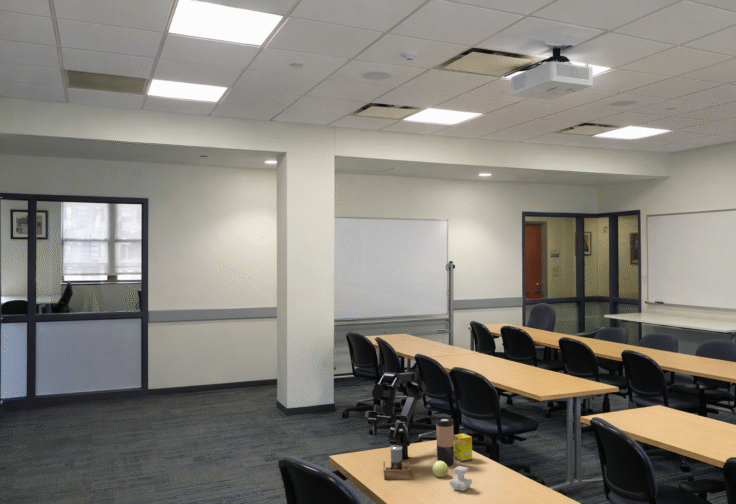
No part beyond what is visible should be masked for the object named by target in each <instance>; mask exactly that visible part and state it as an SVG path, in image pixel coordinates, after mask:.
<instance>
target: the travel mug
mask: <svg viewBox="0 0 736 504" xmlns="http://www.w3.org/2000/svg"><path fill="white" fill-rule="evenodd" d="M435 423H436V425H435V426H436V428H435V429H436V455H437V456H436V457H437V461H443V462H445V463H446V464H447V466H448V468H449V467H453V466H454V465H455V458H454V435H455V433H454V418H452V417H450V416H440V417H437V418H436V422H435Z"/></svg>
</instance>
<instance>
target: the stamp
mask: <svg viewBox="0 0 736 504" xmlns="http://www.w3.org/2000/svg"><path fill="white" fill-rule="evenodd" d="M468 470H469V467H465V466H461V465H458V466H456V467H455V468H454V470H453V471H454V474H455V475H457V476H456V477H454V478H452V479H451V480H450V482H449V485H450V486H451V487H452V488H453V490H456V491H460V492H465V491H467V490H468V489H469V487H470V486H471V485H472V483H473V480H472V478H468V477H464V476H465V475H466V474H467V473H468Z"/></svg>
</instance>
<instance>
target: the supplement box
mask: <svg viewBox="0 0 736 504" xmlns="http://www.w3.org/2000/svg"><path fill="white" fill-rule="evenodd" d="M454 460H457V461H459V462H460V463H467V462H471V461H473V436H472V435H471V436H470V435H468V434H467V433H458V434H454Z"/></svg>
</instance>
